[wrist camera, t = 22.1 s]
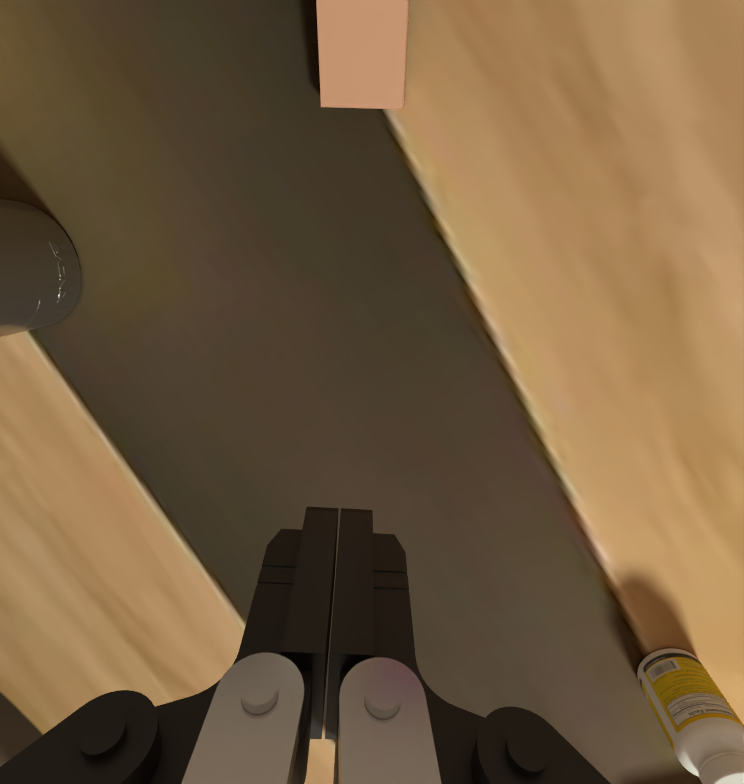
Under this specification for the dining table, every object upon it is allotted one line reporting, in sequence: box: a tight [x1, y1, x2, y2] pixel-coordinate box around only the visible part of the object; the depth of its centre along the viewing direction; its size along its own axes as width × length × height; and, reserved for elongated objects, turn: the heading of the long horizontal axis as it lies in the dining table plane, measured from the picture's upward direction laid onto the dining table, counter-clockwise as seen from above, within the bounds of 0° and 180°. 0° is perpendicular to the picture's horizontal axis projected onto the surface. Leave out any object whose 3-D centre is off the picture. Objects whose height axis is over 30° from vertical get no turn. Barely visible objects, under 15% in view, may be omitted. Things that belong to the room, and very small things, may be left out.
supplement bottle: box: [637, 648, 744, 784], centre depth 37 cm, size 5×5×10 cm
